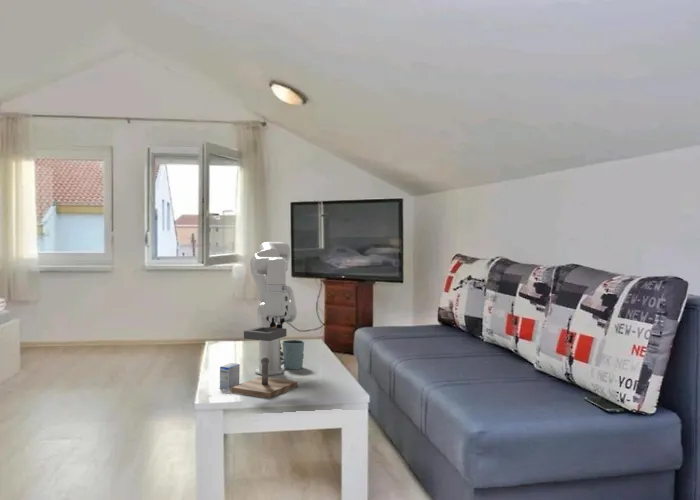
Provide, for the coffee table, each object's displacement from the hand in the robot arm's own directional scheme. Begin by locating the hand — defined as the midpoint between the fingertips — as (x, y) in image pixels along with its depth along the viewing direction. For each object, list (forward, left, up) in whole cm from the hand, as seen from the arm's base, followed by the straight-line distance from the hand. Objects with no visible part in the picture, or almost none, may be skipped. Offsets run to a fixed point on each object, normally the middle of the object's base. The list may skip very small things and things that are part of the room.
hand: (276, 333), depth 239 cm
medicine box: (+11, -15, -21) cm, 28 cm away
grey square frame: (+6, 0, -1) cm, 6 cm away
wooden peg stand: (+8, 0, -21) cm, 23 cm away
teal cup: (-30, -11, -21) cm, 39 cm away
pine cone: (-47, -35, -21) cm, 63 cm away
